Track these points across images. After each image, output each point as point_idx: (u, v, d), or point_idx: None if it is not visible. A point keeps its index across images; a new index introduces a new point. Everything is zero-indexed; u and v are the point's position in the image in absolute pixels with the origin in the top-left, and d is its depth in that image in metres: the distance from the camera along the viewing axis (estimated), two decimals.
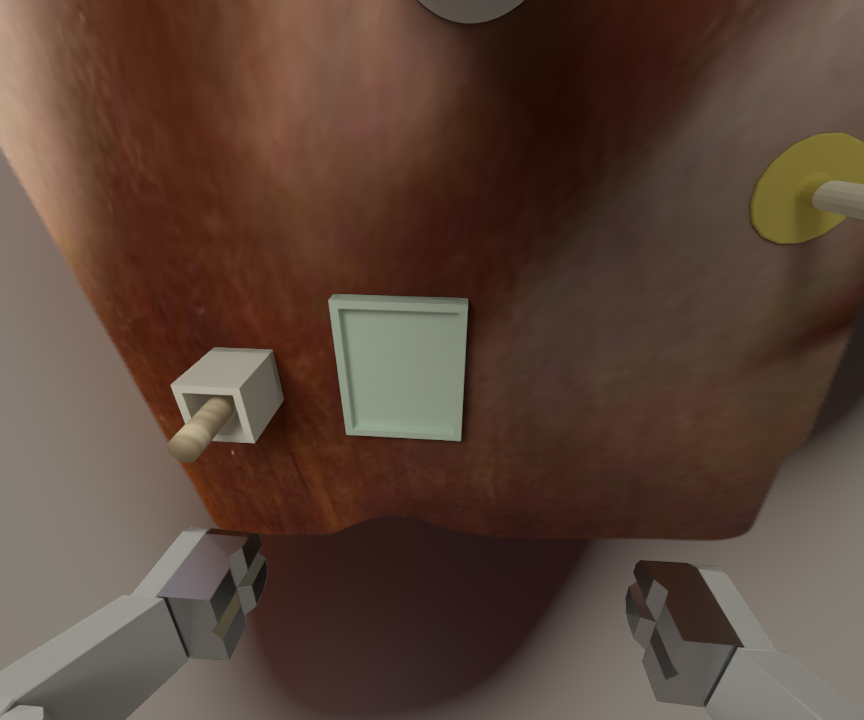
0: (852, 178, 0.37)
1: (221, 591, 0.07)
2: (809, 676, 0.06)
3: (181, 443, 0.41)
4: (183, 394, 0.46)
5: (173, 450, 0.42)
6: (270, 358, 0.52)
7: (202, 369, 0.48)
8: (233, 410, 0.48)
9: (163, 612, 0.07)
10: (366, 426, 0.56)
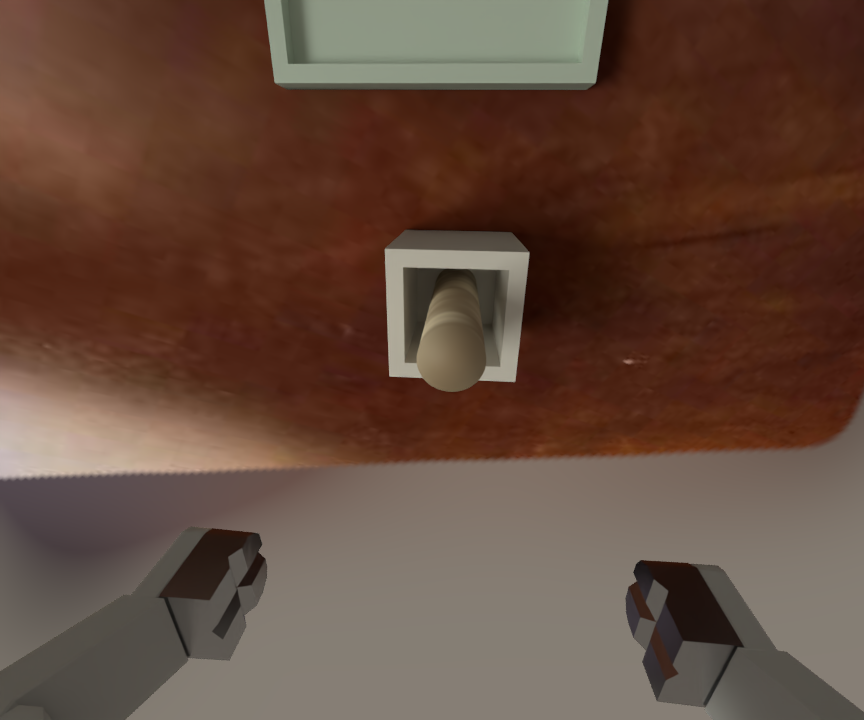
0: None
1: (221, 591, 0.07)
2: (809, 675, 0.06)
3: (429, 355, 0.18)
4: (410, 362, 0.25)
5: (449, 380, 0.19)
6: (413, 231, 0.30)
7: None
8: (459, 287, 0.24)
9: (163, 612, 0.07)
10: (582, 30, 0.24)
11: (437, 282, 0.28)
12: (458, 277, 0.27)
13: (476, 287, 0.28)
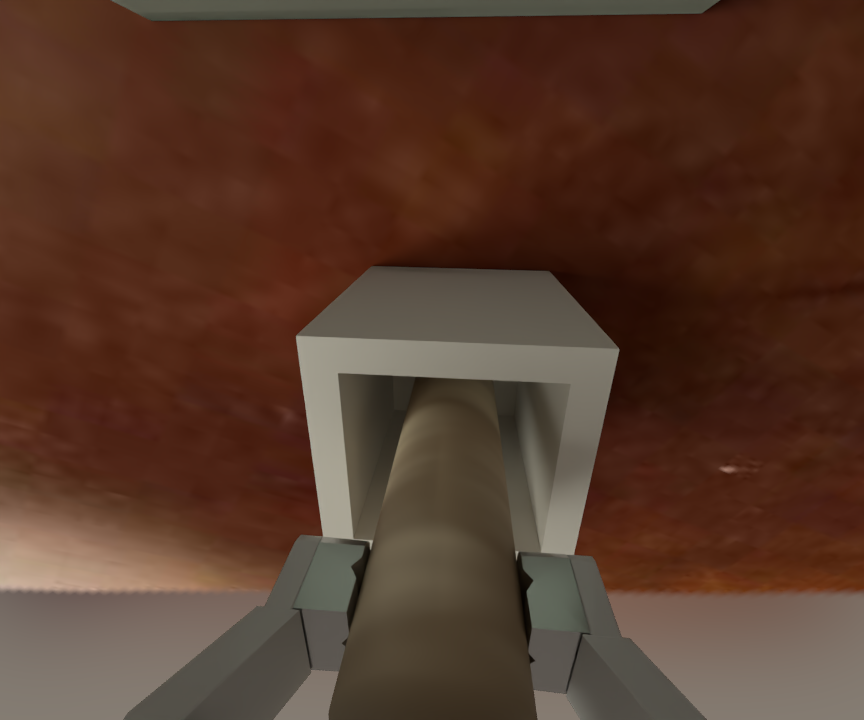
0: None
1: (351, 602, 0.07)
2: (645, 661, 0.06)
3: (366, 716, 0.06)
4: (365, 535, 0.13)
5: None
6: (383, 271, 0.17)
7: None
8: (459, 400, 0.12)
9: (298, 624, 0.07)
10: None
11: None
12: None
13: None
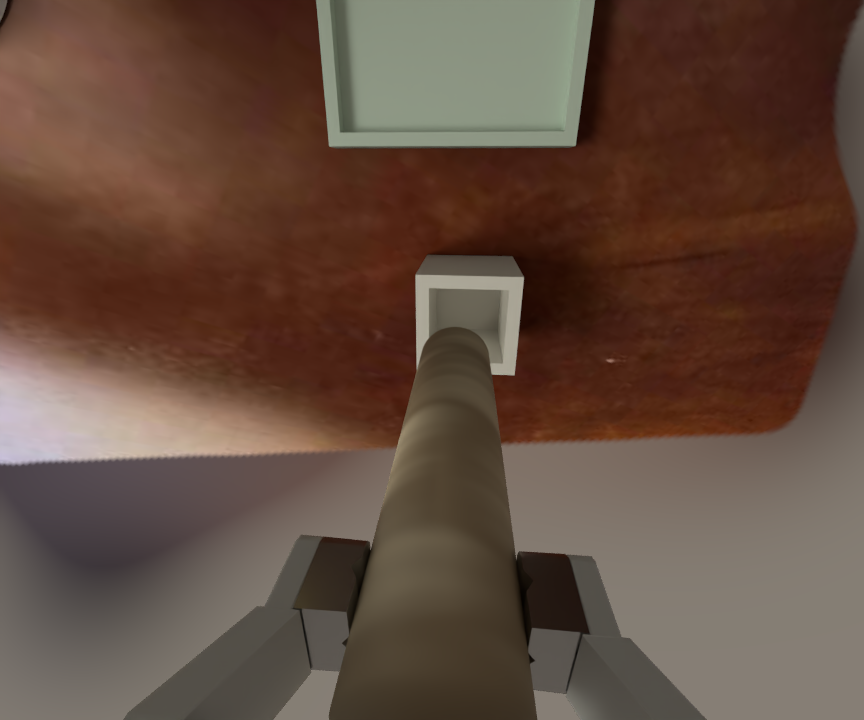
0: None
1: (351, 602, 0.07)
2: (645, 661, 0.06)
3: (366, 718, 0.06)
4: None
5: None
6: (434, 256, 0.37)
7: None
8: (459, 401, 0.12)
9: (298, 624, 0.07)
10: (565, 106, 0.31)
11: (421, 365, 0.16)
12: (458, 363, 0.15)
13: (490, 374, 0.16)
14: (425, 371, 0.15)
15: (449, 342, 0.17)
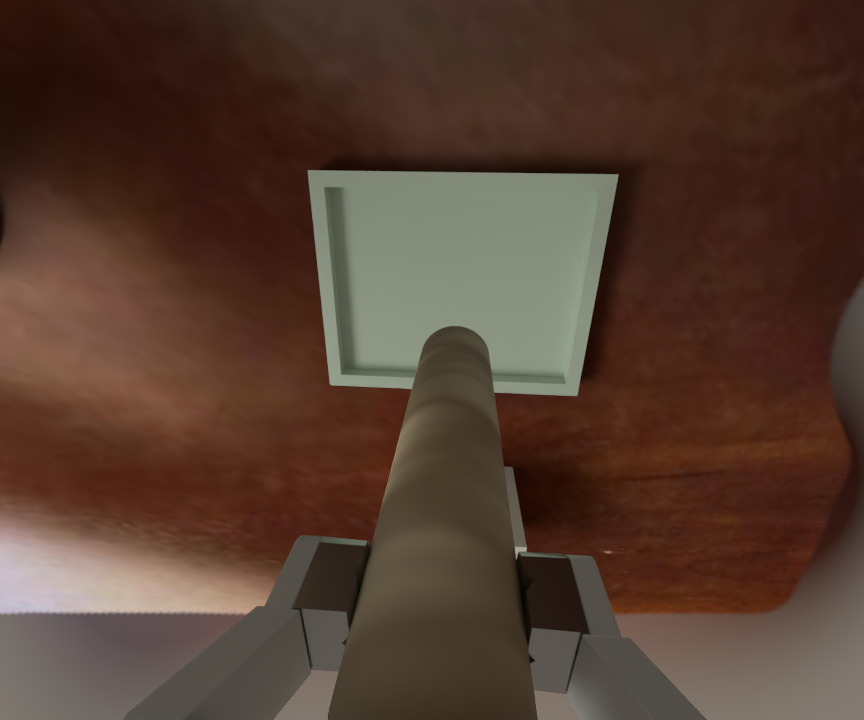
0: None
1: (351, 602, 0.07)
2: (645, 661, 0.06)
3: (365, 718, 0.06)
4: None
5: None
6: None
7: None
8: (459, 400, 0.12)
9: (298, 624, 0.07)
10: (567, 359, 0.31)
11: (421, 364, 0.16)
12: (458, 362, 0.15)
13: (490, 373, 0.16)
14: (425, 370, 0.15)
15: (449, 341, 0.16)
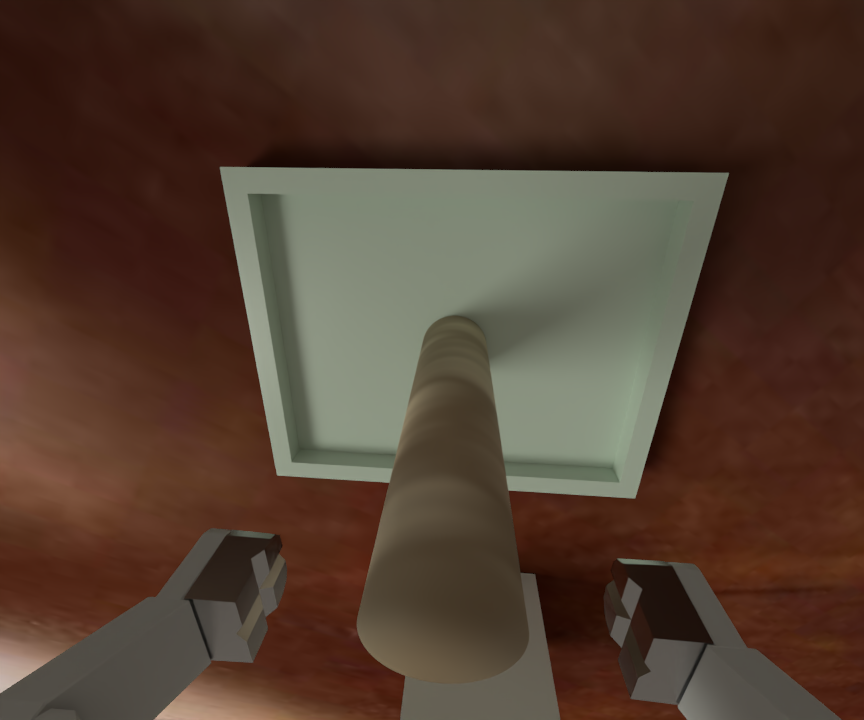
0: None
1: (245, 593, 0.07)
2: (777, 673, 0.06)
3: (388, 622, 0.07)
4: None
5: (438, 665, 0.08)
6: None
7: None
8: (459, 378, 0.13)
9: (188, 614, 0.07)
10: (621, 446, 0.21)
11: (424, 350, 0.17)
12: (458, 347, 0.16)
13: (487, 358, 0.17)
14: (428, 354, 0.16)
15: (449, 329, 0.18)
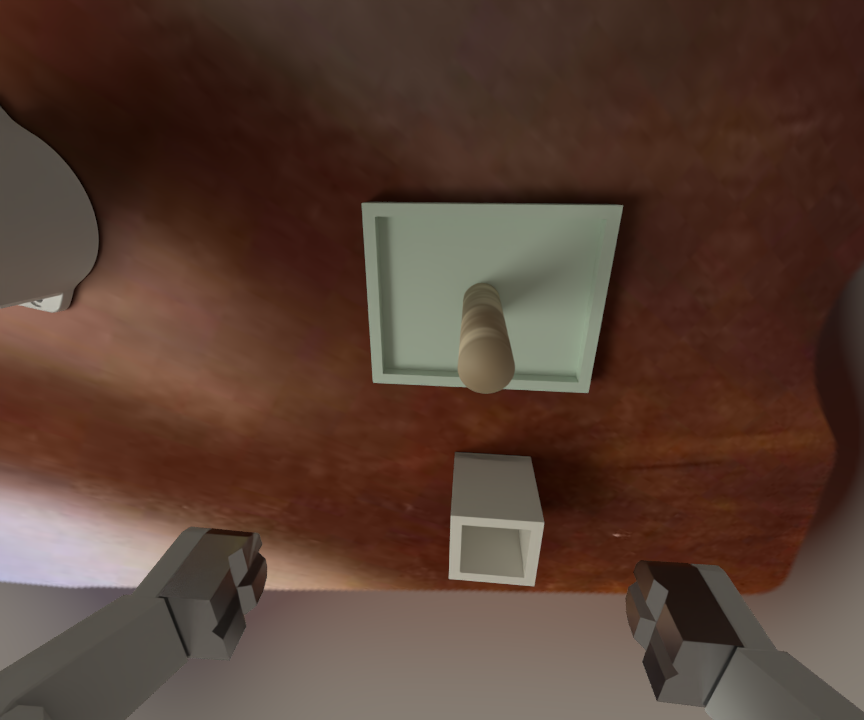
0: None
1: (221, 591, 0.07)
2: (808, 676, 0.06)
3: (468, 364, 0.22)
4: (463, 571, 0.38)
5: (484, 383, 0.23)
6: (461, 458, 0.42)
7: None
8: (487, 304, 0.29)
9: (163, 612, 0.07)
10: (579, 361, 0.36)
11: (466, 298, 0.32)
12: (485, 294, 0.31)
13: (500, 302, 0.32)
14: (469, 299, 0.31)
15: (479, 288, 0.33)
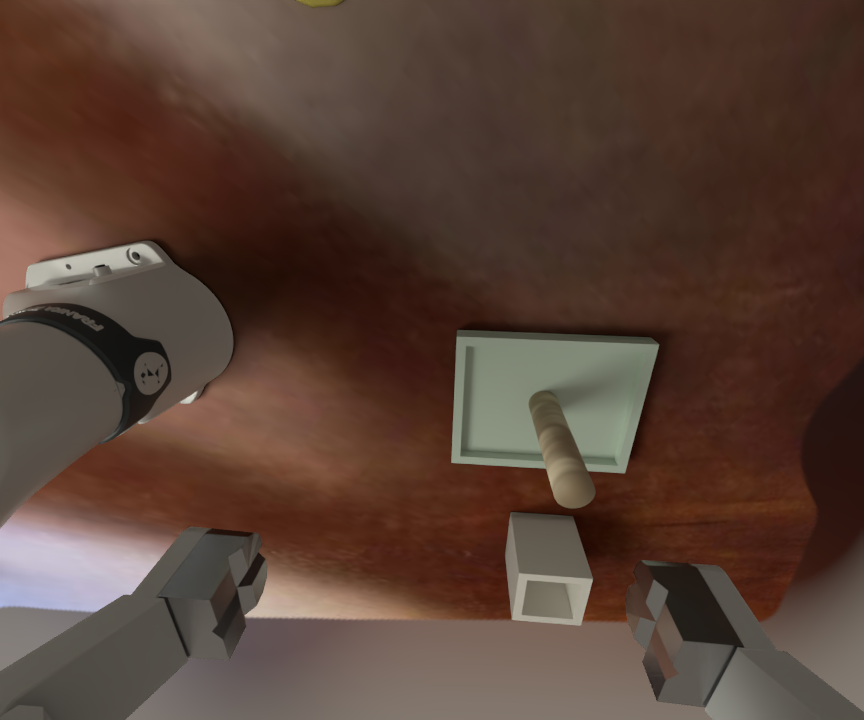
0: None
1: (221, 591, 0.07)
2: (808, 675, 0.06)
3: (562, 490, 0.32)
4: (524, 613, 0.47)
5: (571, 502, 0.32)
6: (517, 518, 0.51)
7: (510, 583, 0.50)
8: (560, 424, 0.38)
9: (163, 612, 0.07)
10: (618, 448, 0.46)
11: (536, 409, 0.42)
12: (553, 409, 0.40)
13: (562, 412, 0.42)
14: (540, 412, 0.41)
15: (545, 399, 0.42)
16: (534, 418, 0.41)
